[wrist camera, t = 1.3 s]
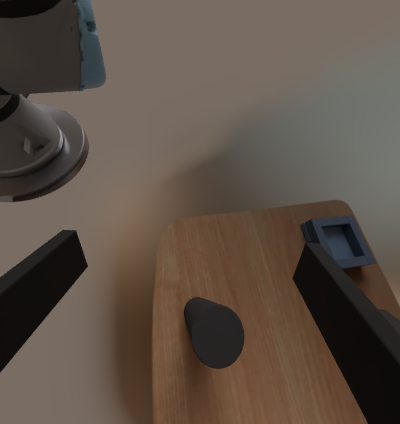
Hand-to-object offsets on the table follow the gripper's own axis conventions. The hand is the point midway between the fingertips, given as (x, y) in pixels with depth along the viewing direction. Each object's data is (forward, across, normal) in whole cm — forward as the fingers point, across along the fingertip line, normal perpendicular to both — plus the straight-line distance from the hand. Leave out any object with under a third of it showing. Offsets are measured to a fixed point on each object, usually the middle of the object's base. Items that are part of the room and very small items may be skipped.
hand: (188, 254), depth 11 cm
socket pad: (+21, +25, -14) cm, 36 cm away
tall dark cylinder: (+10, 0, -19) cm, 22 cm away
